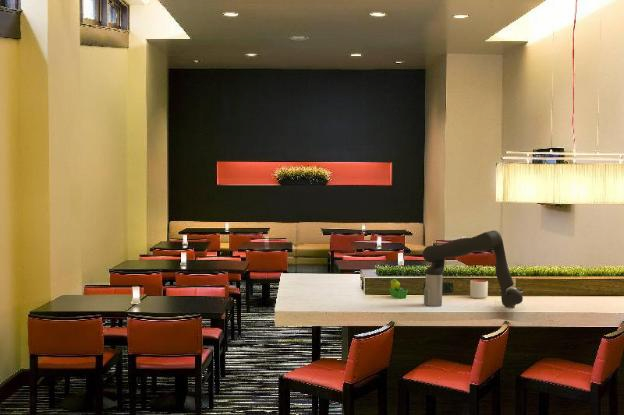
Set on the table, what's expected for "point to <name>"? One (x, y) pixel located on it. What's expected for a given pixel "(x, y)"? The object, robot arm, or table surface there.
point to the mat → (518, 307)
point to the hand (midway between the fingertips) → (510, 288)
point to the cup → (479, 289)
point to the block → (514, 285)
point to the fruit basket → (397, 290)
